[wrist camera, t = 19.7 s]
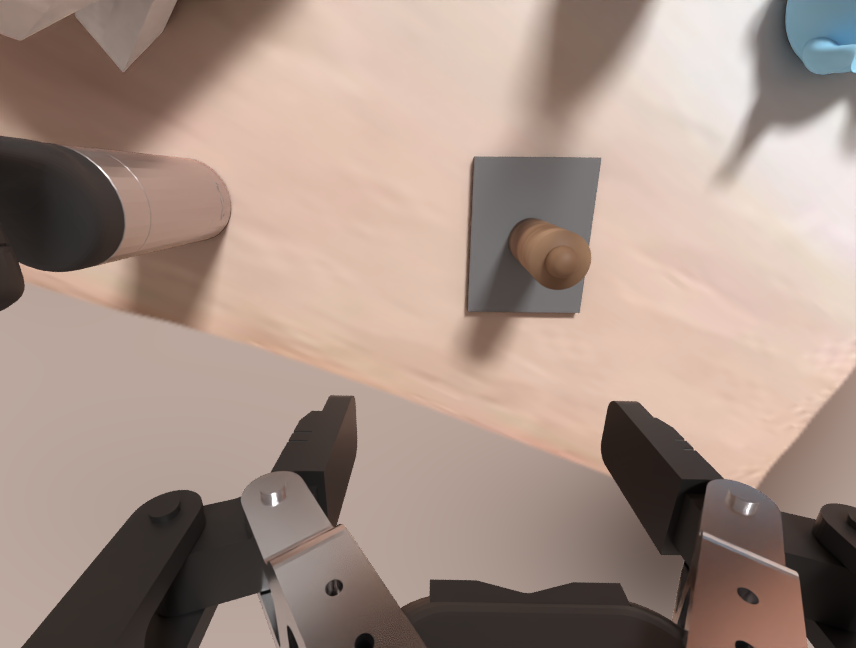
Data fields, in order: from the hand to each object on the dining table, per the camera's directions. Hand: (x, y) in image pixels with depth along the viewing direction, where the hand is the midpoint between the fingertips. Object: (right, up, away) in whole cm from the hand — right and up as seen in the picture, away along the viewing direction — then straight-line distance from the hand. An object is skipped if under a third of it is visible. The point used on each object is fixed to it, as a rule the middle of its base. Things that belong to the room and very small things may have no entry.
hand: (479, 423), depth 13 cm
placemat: (+10, +13, +35) cm, 39 cm away
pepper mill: (+10, +13, +34) cm, 38 cm away
